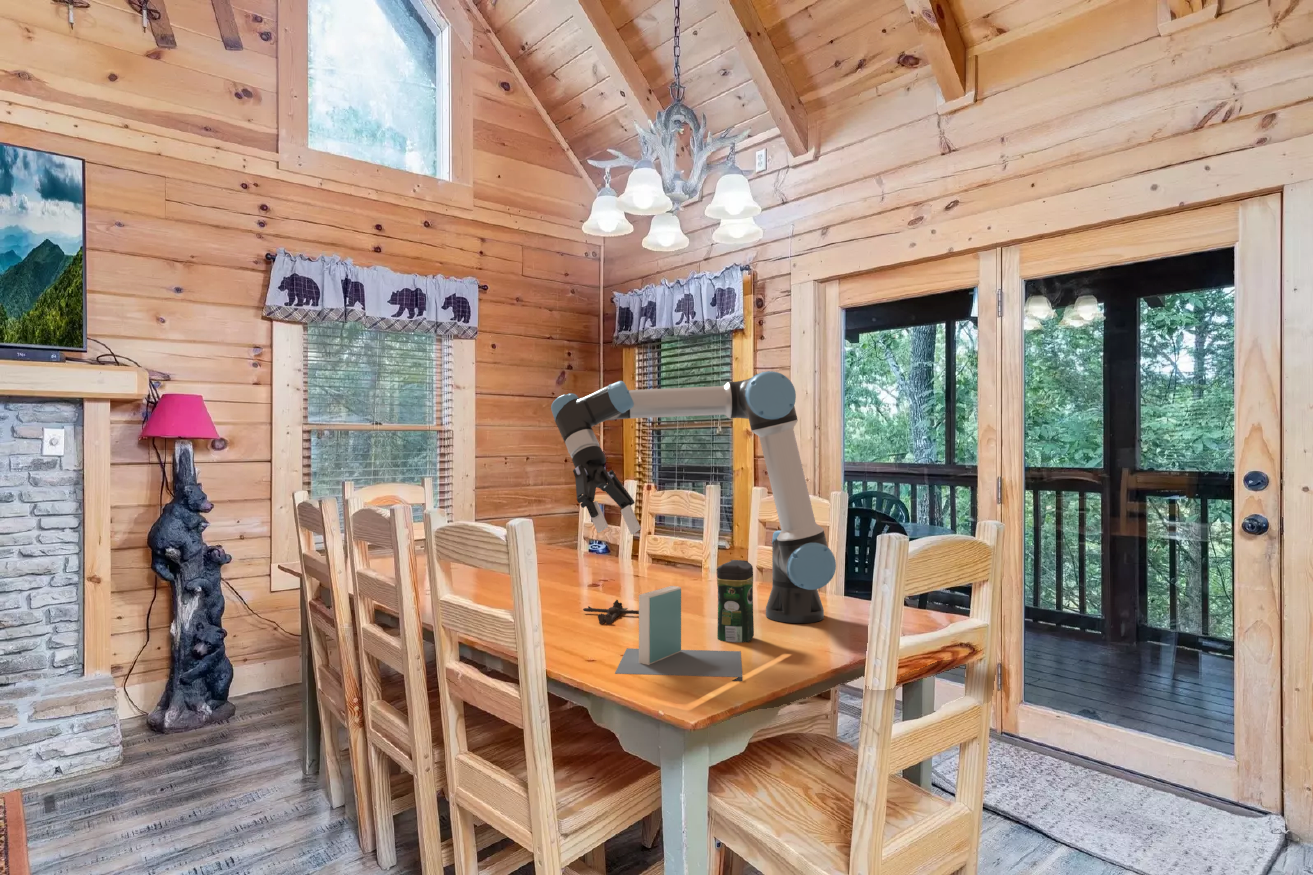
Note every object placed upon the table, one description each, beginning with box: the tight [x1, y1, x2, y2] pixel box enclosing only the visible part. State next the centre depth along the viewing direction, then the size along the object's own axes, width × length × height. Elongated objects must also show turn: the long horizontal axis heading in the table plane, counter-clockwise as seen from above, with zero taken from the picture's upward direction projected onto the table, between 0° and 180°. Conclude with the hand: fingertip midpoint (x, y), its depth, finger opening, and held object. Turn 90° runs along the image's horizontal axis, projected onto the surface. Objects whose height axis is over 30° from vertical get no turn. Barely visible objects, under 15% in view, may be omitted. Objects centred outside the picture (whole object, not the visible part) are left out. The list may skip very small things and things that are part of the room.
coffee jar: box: [716, 559, 755, 644], centre depth 175 cm, size 10×8×19 cm
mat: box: [614, 647, 744, 682], centre depth 155 cm, size 25×18×1 cm
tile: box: [638, 585, 682, 665], centre depth 158 cm, size 3×12×14 cm, turn 145°
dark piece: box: [583, 599, 639, 625], centre depth 197 cm, size 18×4×14 cm
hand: (620, 530), depth 171 cm, fingers open, 13 cm apart
